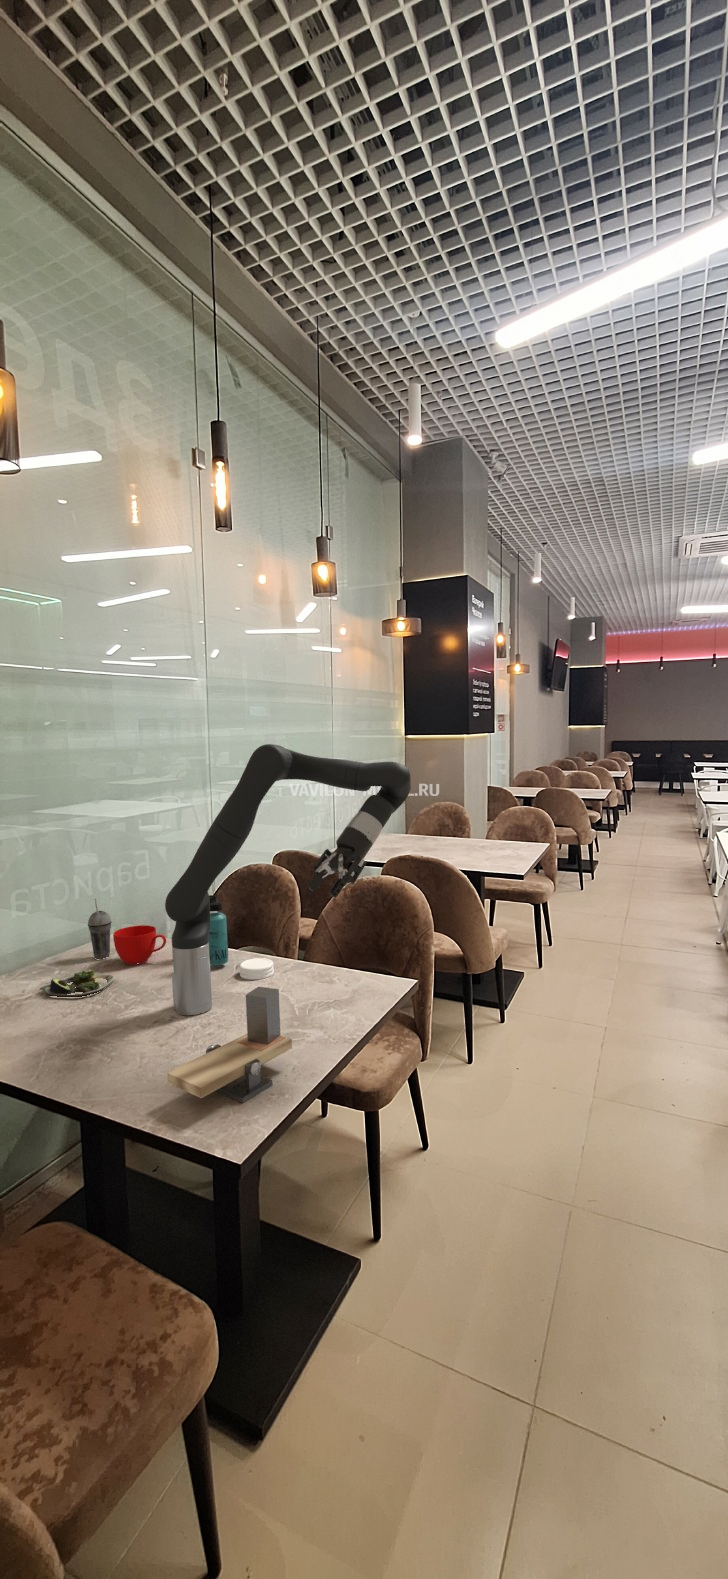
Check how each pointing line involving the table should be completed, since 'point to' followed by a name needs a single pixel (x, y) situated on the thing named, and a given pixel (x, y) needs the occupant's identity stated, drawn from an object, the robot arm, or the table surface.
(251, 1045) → the seesaw plank
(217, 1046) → the seesaw stand
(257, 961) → the coaster
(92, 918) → the beverage cup
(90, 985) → the salad plate
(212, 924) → the beverage bottle
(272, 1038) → the block
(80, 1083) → the table surface
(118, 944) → the ceramic cup
